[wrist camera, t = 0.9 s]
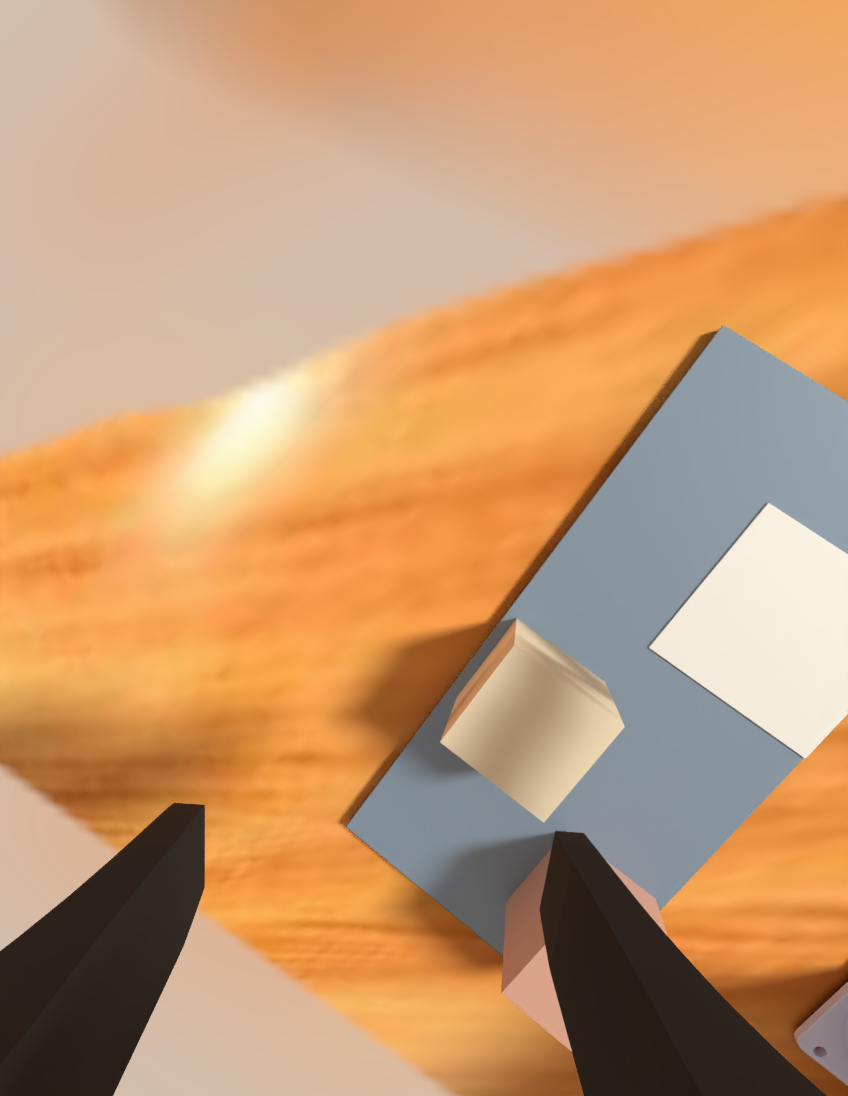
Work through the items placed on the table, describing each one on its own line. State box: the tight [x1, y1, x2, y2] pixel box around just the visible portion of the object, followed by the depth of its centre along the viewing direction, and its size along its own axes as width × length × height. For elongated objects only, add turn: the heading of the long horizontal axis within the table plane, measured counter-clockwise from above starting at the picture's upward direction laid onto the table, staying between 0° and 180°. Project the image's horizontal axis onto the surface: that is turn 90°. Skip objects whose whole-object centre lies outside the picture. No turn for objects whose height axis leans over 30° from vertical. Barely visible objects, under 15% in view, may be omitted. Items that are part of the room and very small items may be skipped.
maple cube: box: [440, 618, 625, 823], centre depth 22 cm, size 5×5×5 cm
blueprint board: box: [347, 325, 848, 956], centre depth 24 cm, size 14×30×1 cm, turn 145°
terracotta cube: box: [501, 831, 668, 1052], centre depth 23 cm, size 5×5×5 cm
